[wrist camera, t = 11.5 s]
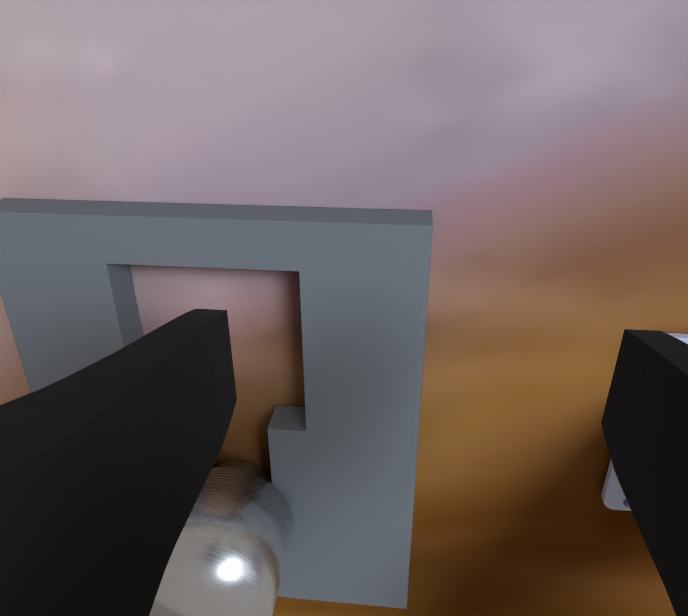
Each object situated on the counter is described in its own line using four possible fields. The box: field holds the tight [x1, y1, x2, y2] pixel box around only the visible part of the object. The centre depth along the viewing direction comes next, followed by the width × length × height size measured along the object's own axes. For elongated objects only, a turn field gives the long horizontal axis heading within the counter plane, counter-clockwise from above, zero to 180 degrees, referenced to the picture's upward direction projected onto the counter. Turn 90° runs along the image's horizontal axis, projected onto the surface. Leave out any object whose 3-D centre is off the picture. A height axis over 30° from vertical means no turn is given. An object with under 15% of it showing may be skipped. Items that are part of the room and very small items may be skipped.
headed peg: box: [149, 461, 293, 616], centre depth 23 cm, size 5×5×6 cm
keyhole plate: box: [0, 198, 433, 609], centre depth 23 cm, size 15×18×2 cm
